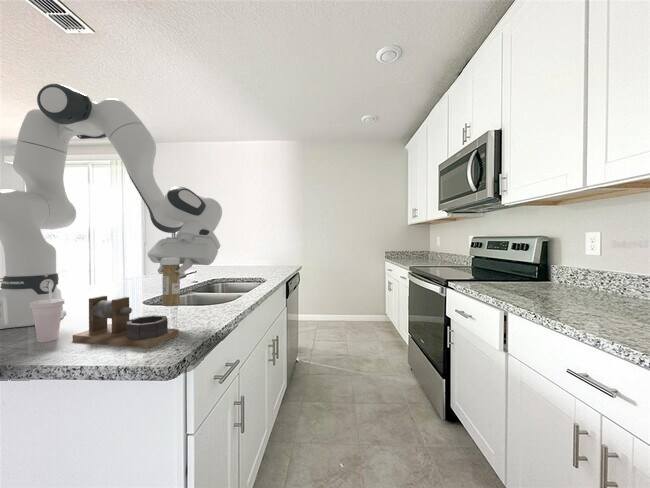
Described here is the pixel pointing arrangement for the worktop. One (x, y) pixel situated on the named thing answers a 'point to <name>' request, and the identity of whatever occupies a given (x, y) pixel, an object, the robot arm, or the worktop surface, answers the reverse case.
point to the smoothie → (47, 317)
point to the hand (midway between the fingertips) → (169, 273)
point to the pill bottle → (171, 281)
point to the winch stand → (123, 325)
